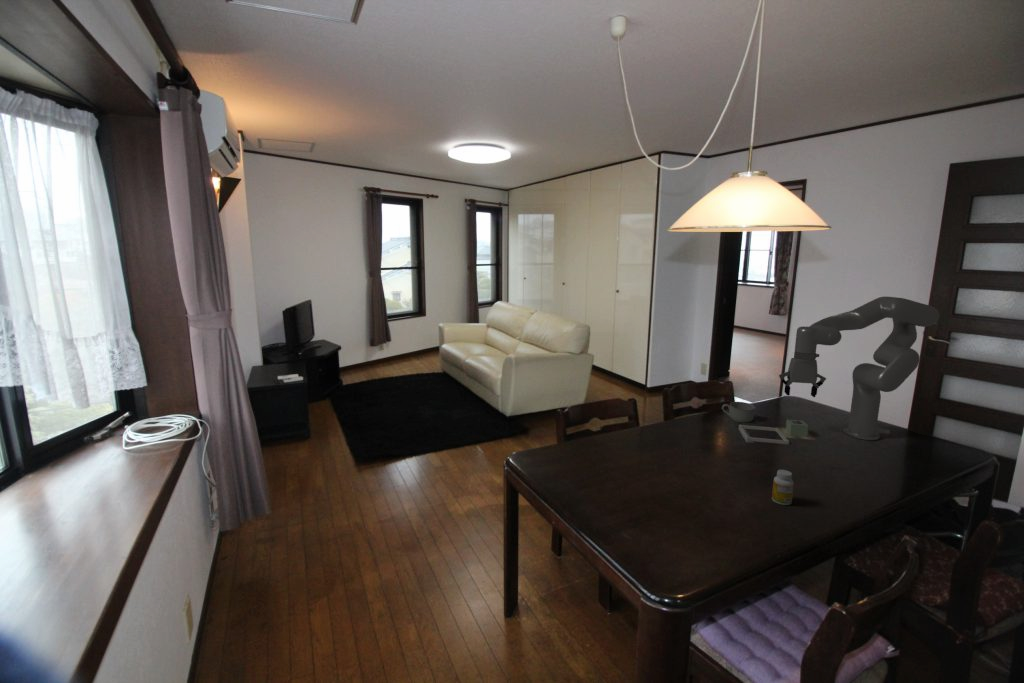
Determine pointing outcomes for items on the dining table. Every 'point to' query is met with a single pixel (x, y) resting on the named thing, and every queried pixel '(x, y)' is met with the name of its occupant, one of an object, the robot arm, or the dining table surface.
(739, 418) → the teacup
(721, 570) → the dining table surface
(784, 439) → the tray
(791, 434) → the green hollow square block
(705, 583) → the dining table surface
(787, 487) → the supplement bottle
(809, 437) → the wooden peg base
